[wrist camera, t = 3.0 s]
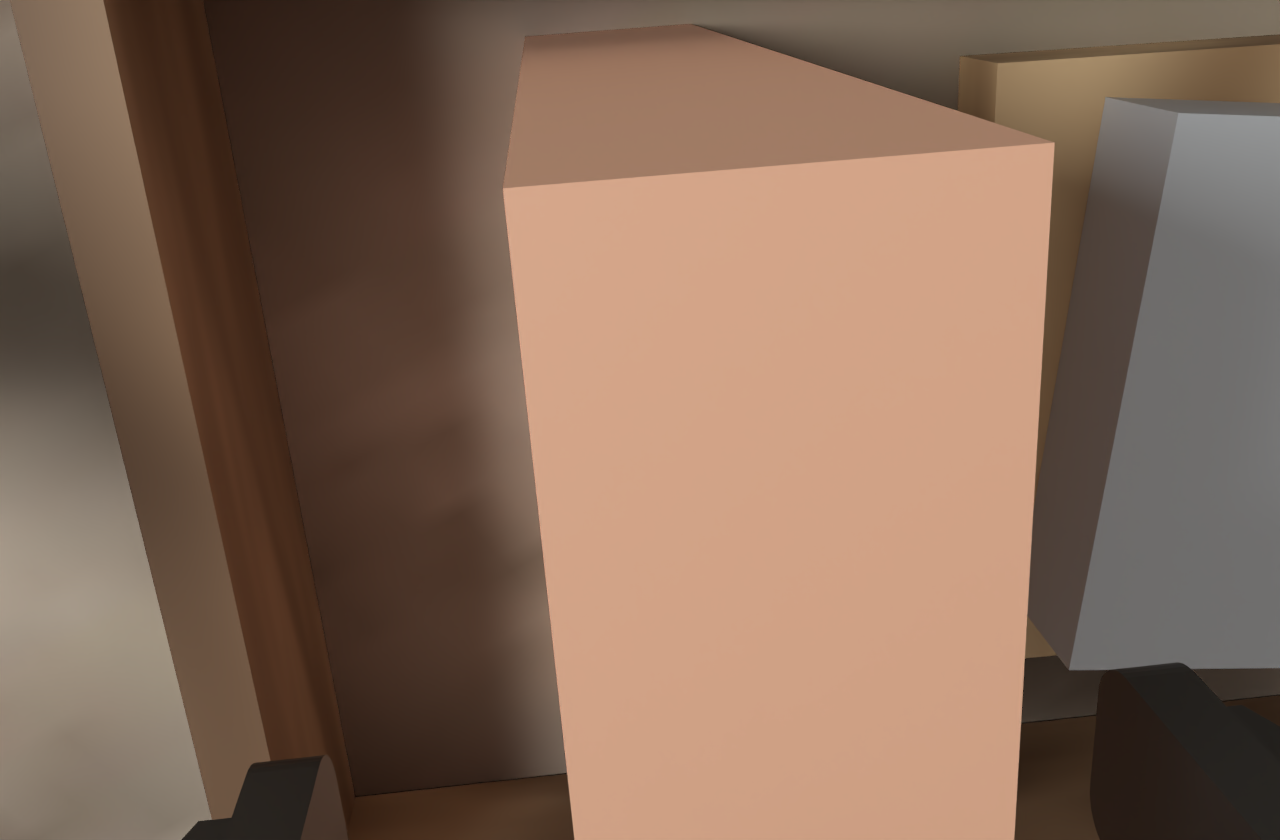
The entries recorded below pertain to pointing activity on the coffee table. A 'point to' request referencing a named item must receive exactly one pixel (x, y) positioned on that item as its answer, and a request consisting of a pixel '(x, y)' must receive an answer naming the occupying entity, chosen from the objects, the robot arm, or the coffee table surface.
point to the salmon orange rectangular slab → (777, 437)
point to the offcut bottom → (1071, 117)
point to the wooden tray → (265, 432)
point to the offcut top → (1168, 400)
